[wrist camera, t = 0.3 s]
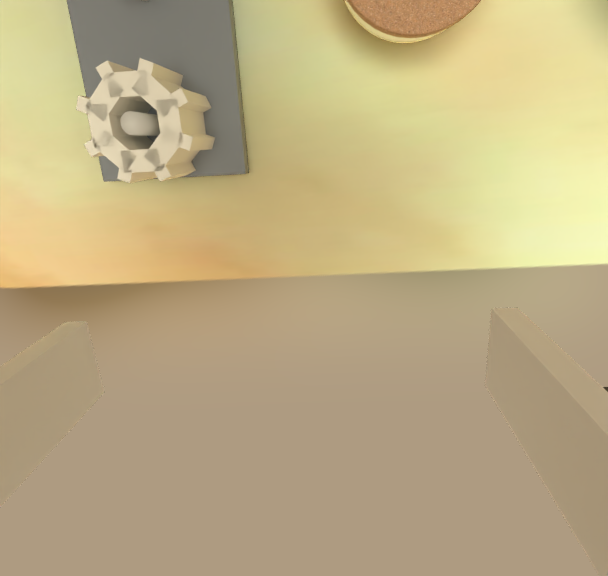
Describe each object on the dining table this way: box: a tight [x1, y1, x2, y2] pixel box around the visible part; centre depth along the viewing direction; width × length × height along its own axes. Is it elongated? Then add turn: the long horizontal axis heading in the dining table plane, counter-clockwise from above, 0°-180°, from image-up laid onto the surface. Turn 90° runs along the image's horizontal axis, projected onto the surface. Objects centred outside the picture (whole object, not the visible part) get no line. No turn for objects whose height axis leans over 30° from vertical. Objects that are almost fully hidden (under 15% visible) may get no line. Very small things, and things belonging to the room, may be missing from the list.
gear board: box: [67, 0, 249, 183], centre depth 32 cm, size 19×13×8 cm
